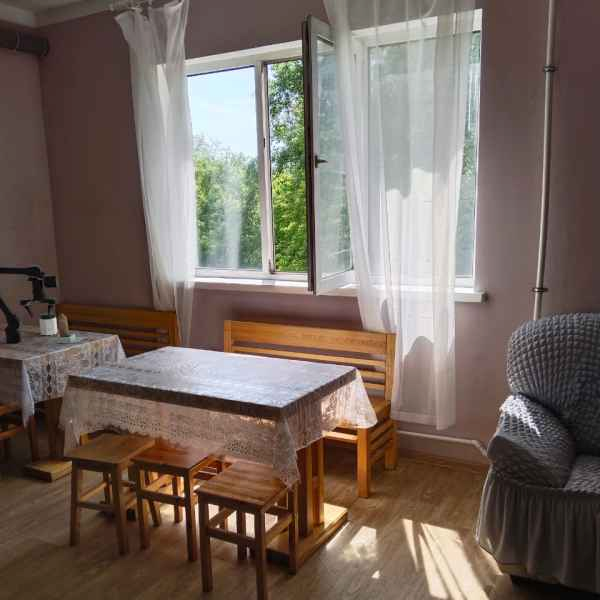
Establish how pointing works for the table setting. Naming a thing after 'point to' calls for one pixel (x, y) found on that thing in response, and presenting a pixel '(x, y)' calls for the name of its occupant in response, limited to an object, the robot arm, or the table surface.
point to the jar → (48, 324)
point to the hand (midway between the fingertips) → (40, 316)
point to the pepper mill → (63, 326)
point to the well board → (65, 339)
